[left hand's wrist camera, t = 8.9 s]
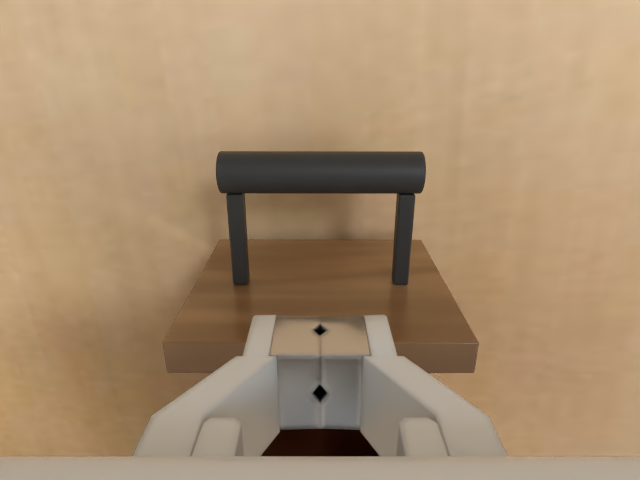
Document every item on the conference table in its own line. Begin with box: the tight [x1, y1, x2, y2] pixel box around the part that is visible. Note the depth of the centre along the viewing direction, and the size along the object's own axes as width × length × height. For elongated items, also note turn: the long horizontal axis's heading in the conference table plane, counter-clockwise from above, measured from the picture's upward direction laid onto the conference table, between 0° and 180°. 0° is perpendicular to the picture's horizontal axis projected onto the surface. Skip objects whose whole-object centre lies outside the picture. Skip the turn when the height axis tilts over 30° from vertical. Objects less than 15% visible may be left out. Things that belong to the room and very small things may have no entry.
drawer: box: [163, 151, 479, 456], centre depth 21 cm, size 25×10×9 cm, turn 0°
